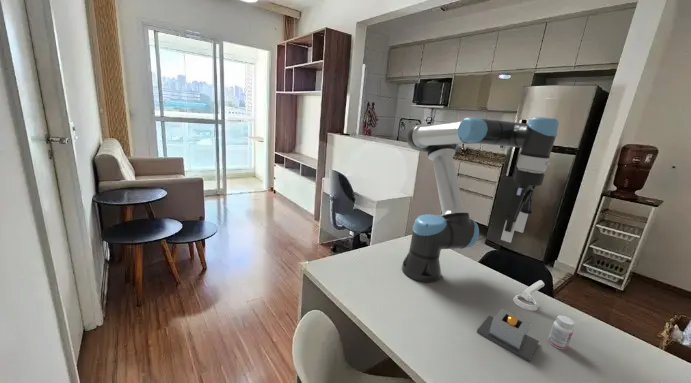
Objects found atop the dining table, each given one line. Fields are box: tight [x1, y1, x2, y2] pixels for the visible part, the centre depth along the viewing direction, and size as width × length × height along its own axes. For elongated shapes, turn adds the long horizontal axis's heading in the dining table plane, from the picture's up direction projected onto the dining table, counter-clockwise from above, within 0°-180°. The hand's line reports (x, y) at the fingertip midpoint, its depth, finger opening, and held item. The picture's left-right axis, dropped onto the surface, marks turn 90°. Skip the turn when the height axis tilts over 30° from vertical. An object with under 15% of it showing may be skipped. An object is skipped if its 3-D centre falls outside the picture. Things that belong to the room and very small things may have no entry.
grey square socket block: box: [489, 308, 532, 350], centre depth 86 cm, size 8×8×5 cm
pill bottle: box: [547, 314, 575, 351], centre depth 85 cm, size 5×5×8 cm
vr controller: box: [512, 279, 545, 312], centre depth 104 cm, size 8×12×7 cm
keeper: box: [476, 315, 540, 363], centre depth 86 cm, size 14×10×7 cm
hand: (512, 235), depth 93 cm, fingers open, 13 cm apart
